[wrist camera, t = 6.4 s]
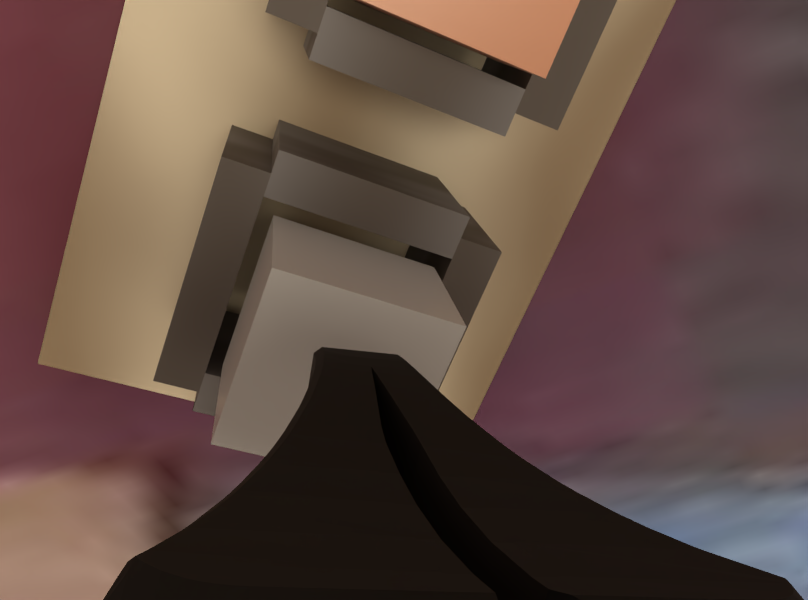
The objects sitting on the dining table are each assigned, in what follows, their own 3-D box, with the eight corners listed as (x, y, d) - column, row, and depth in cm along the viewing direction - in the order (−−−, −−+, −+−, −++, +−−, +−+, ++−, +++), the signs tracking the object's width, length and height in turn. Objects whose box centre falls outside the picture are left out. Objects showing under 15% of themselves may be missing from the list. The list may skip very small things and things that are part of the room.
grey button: (434, 267, 16) (466, 326, 13) (375, 404, 17) (393, 485, 14) (273, 215, 15) (272, 267, 12) (222, 365, 16) (210, 444, 13)
